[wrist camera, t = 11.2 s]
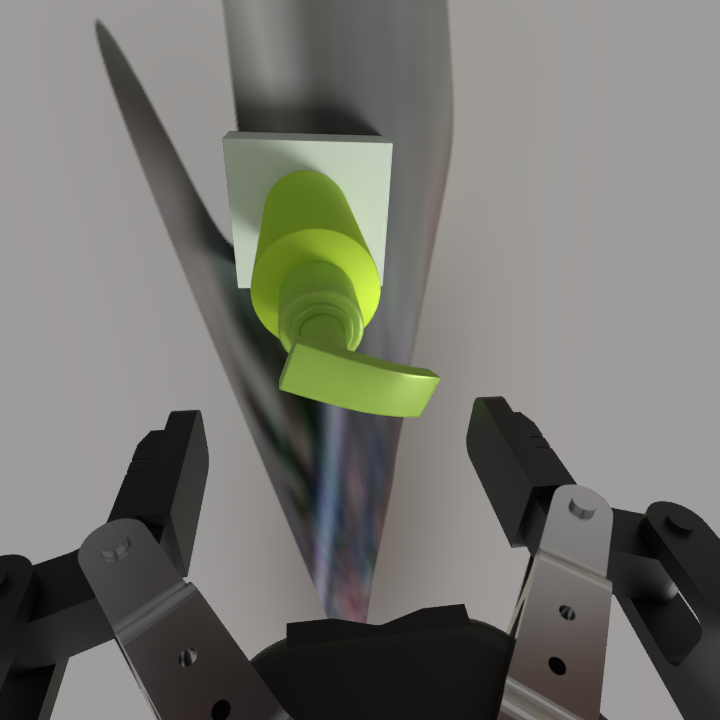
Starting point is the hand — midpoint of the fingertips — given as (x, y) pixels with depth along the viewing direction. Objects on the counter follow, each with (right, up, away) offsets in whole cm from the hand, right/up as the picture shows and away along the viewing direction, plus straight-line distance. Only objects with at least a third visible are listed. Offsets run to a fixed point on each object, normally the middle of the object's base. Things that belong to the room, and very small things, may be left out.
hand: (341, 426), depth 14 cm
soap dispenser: (-3, +12, +19) cm, 22 cm away
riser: (-3, +14, +22) cm, 26 cm away
